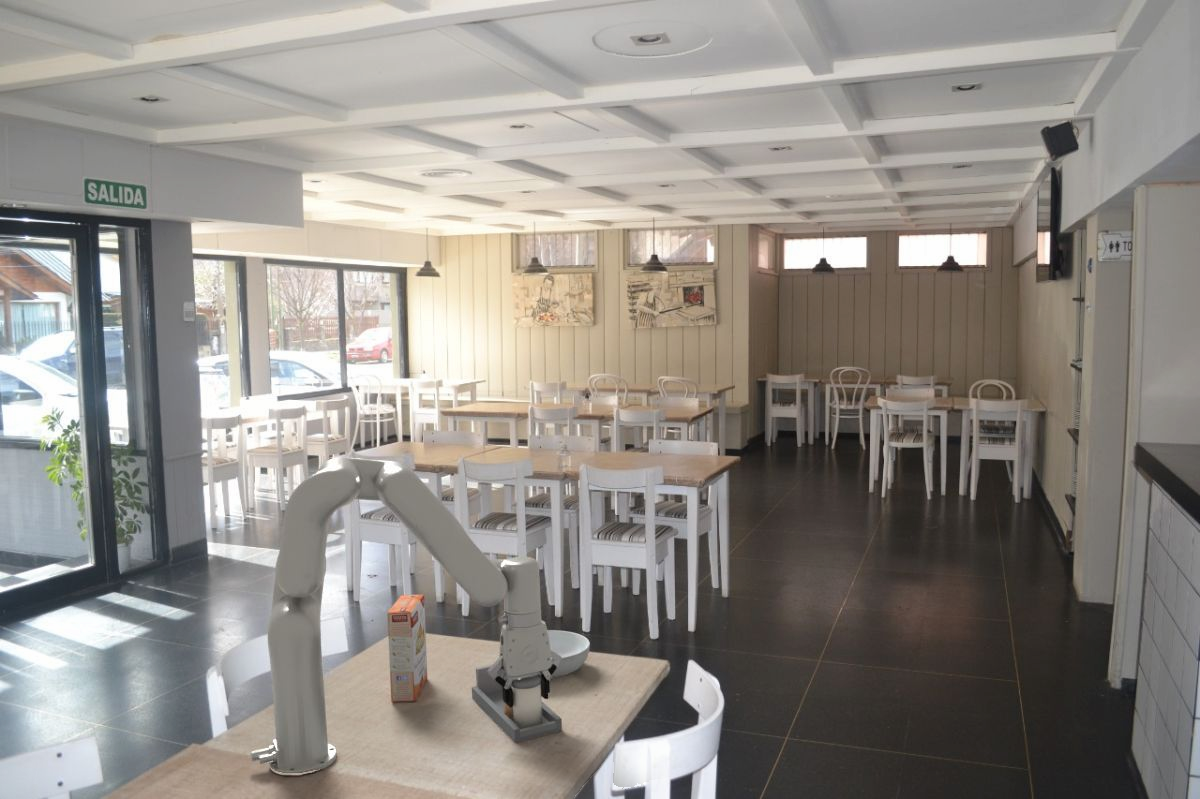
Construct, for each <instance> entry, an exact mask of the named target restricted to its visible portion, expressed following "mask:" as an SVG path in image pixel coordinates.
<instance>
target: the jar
mask: <svg viewBox="0 0 1200 799" xmlns="http://www.w3.org/2000/svg"><path fill="white" fill-rule="evenodd" d="M540 683H541V676H540V674H538V673H533V674H529V675H524V676H519V677H514V678H513V681H512V683H511V686H512V689H513V722H514V723H515V724H516V725H517V726H518V727H519V728H520V729H523V728H527V727H531V726H535V725H539V724H542V705H541V701H542V696H541V684H540Z"/></svg>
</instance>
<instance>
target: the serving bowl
mask: <svg viewBox="0 0 1200 799" xmlns="http://www.w3.org/2000/svg"><path fill="white" fill-rule="evenodd" d="M547 631H548V637H549V643H550V650H552V651H553V652H555V653H557V654H558V655H560V656H561V657H562V659H561V661H560V663H559V664H558V666H557V668H556V670H555V671H554V673H553V674H552V675H551V677H552V678H557V677H562V676H566V675H568V674H569V675H570V674H571V673H573V672H575V671H577V670H578V669H579V668H581V667H582V666H583V665H584V664H585V662H586V661H587V658H588V656H589V653H590V646H591V643H590V640H589V639H588V638H587V637H585V636H584V635H582V634H579V633H576V632H574V631H573V632H572V631H566V630H556V629H555V630H552V629H551V630H548V629H547ZM551 661H552V658H551ZM538 674H540V676H541V673H540V672H538Z"/></svg>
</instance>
